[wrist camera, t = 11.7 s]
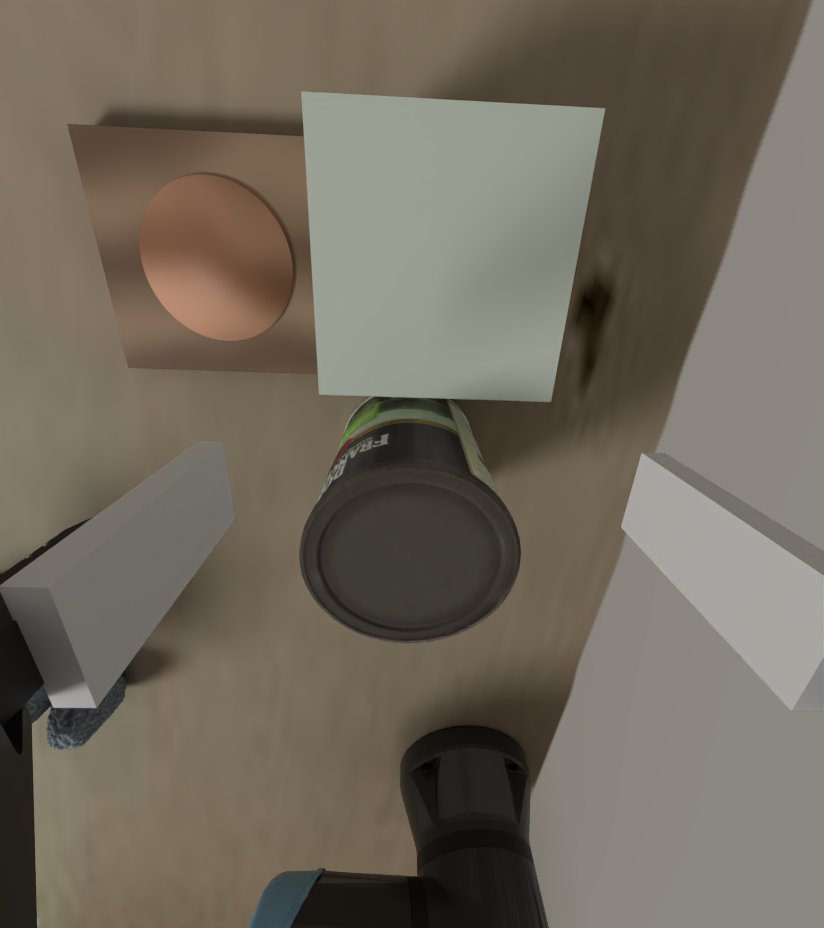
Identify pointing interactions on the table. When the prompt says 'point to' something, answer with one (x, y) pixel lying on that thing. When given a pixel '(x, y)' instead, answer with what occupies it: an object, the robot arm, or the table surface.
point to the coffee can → (409, 526)
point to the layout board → (203, 246)
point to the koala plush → (74, 717)
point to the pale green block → (444, 242)
